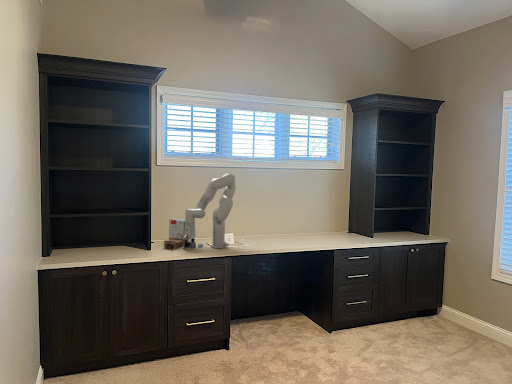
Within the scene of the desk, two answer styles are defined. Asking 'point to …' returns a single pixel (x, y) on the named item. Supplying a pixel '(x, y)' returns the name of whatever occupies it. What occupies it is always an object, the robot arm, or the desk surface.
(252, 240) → the desk surface
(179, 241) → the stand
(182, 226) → the hard drive box
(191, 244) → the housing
